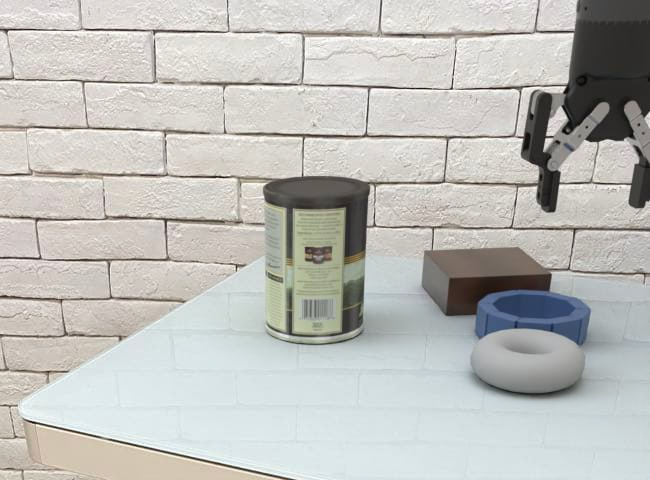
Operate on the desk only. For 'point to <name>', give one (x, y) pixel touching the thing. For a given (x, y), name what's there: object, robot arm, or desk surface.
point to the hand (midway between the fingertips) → (592, 208)
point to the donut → (527, 360)
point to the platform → (479, 276)
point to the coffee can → (315, 258)
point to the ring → (533, 313)
